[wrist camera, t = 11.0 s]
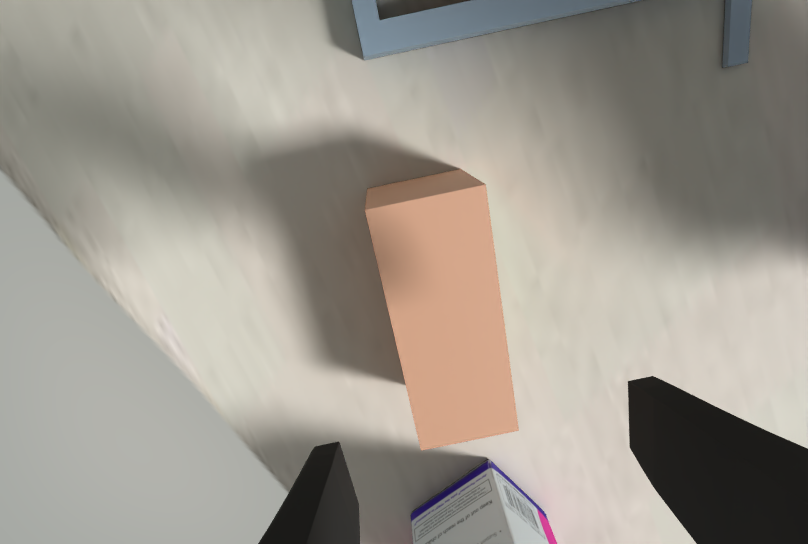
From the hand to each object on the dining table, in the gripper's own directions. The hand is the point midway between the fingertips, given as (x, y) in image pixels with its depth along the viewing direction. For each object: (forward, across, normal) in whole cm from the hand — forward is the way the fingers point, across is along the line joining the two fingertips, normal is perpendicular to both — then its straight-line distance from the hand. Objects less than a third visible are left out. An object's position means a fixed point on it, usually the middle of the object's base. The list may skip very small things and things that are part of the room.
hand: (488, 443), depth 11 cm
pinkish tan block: (+10, 0, 0) cm, 10 cm away
